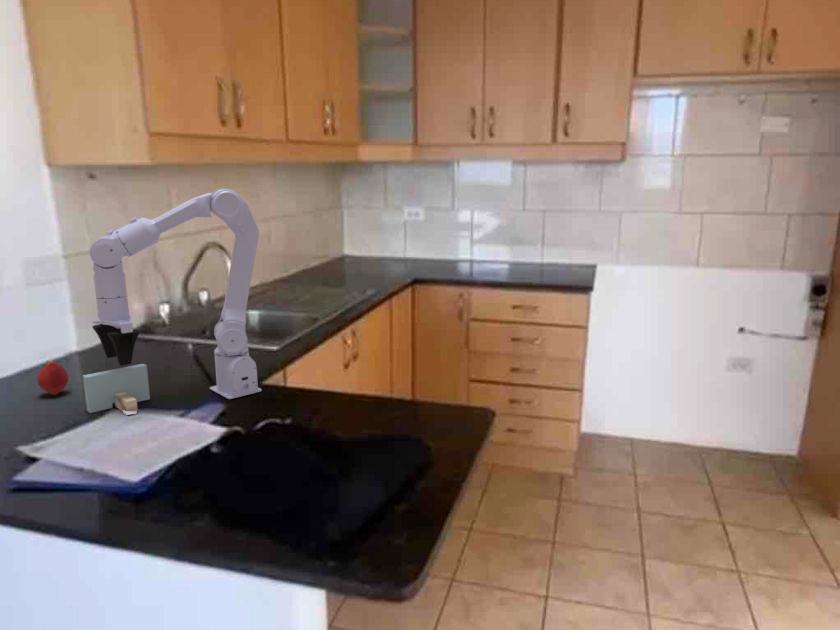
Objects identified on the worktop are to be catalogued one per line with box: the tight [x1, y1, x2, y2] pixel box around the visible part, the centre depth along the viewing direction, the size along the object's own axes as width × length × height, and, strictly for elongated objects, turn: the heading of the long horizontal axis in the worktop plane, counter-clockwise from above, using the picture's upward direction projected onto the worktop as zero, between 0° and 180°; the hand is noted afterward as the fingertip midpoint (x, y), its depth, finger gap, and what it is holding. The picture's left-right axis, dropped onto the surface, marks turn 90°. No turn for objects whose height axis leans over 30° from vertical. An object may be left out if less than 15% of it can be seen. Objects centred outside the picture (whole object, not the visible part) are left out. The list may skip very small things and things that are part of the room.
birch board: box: [112, 392, 139, 411], centre depth 134 cm, size 16×2×3 cm, turn 43°
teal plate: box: [82, 363, 151, 414], centre depth 133 cm, size 2×12×8 cm, turn 133°
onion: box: [37, 359, 70, 396], centre depth 139 cm, size 6×6×8 cm
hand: (118, 360), depth 133 cm, fingers open, 7 cm apart
